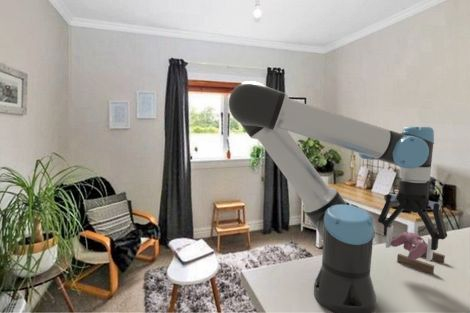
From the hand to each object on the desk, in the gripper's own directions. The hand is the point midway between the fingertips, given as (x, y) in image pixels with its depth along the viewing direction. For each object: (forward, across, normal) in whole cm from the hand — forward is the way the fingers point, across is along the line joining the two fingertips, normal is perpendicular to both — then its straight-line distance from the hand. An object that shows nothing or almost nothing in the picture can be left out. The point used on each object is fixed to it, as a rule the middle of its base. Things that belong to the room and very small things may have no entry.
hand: (408, 252), depth 85 cm
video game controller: (0, 0, 0) cm, 1 cm away
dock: (+7, 0, -13) cm, 15 cm away
